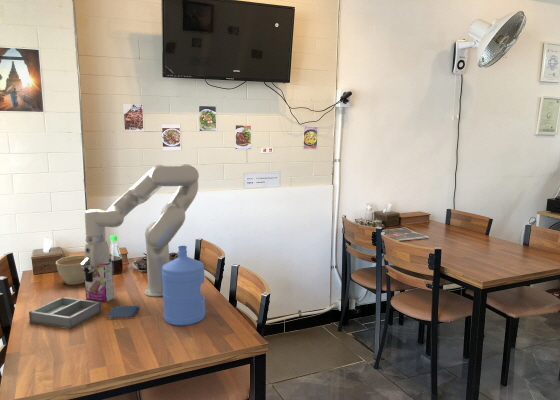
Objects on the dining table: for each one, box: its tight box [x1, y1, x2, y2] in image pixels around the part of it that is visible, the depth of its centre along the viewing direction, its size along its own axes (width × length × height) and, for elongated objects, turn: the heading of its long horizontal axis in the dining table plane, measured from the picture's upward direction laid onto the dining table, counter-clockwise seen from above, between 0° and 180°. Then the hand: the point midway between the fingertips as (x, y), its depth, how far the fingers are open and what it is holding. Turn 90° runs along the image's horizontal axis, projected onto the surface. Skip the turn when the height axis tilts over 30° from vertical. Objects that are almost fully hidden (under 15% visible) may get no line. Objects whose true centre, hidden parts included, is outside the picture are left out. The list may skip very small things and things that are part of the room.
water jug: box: [162, 245, 206, 327], centre depth 161 cm, size 16×16×28 cm
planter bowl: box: [55, 254, 85, 285], centre depth 204 cm, size 16×16×11 cm
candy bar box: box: [84, 261, 115, 303], centre depth 181 cm, size 11×5×16 cm, turn 71°
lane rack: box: [28, 296, 102, 330], centre depth 164 cm, size 19×16×4 cm
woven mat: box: [105, 304, 140, 320], centre depth 167 cm, size 10×11×2 cm
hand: (97, 278), depth 181 cm, fingers open, 9 cm apart
